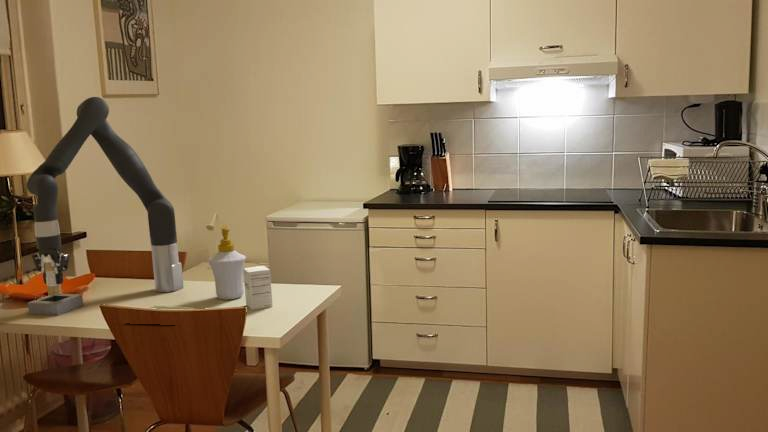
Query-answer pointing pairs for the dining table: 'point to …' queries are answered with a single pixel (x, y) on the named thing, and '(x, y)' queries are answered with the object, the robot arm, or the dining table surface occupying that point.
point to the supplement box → (257, 287)
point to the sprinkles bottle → (51, 278)
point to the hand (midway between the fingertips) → (53, 283)
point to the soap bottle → (228, 269)
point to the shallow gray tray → (55, 304)
